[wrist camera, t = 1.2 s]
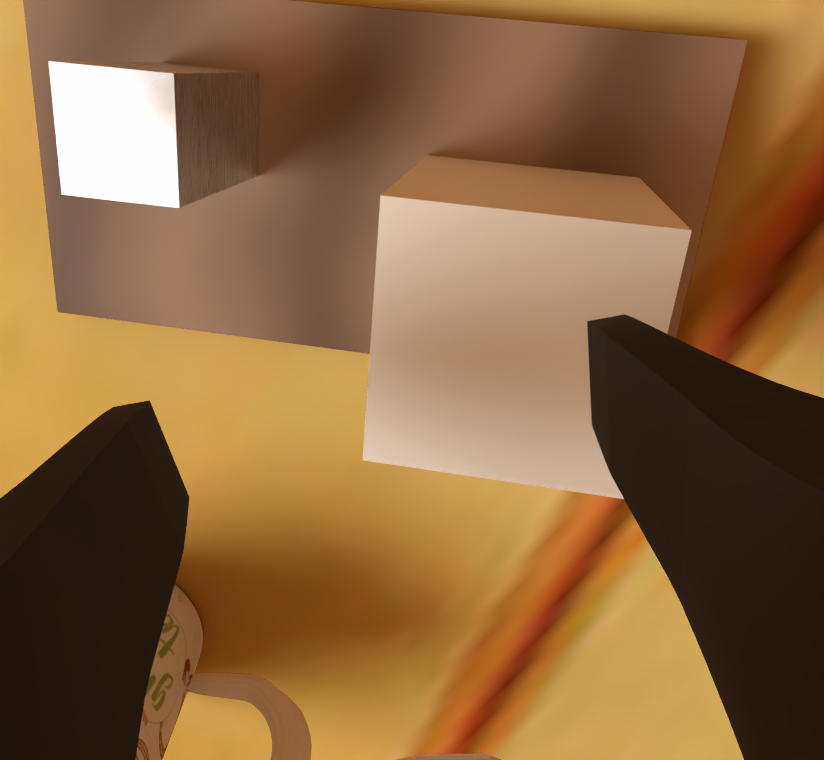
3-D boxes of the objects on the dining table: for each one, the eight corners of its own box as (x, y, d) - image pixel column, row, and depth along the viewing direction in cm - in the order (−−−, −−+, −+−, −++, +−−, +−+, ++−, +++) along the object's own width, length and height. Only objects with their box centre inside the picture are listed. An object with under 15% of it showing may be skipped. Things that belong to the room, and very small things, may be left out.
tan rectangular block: (639, 177, 19) (691, 230, 13) (599, 374, 21) (628, 499, 15) (427, 155, 19) (379, 195, 13) (409, 349, 21) (362, 460, 15)
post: (258, 72, 19) (173, 73, 14) (258, 175, 20) (179, 208, 15) (162, 62, 19) (48, 60, 15) (166, 165, 20) (62, 194, 16)
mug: (6, 520, 27) (-254, 747, 18) (340, 549, 26) (236, 815, 17) (49, 691, 31) (-154, 957, 21) (348, 727, 29) (264, 1031, 20)
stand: (737, 41, 18) (748, 40, 17) (656, 379, 22) (662, 393, 21) (43, -19, 20) (20, -24, 19) (76, 302, 23) (57, 311, 23)
